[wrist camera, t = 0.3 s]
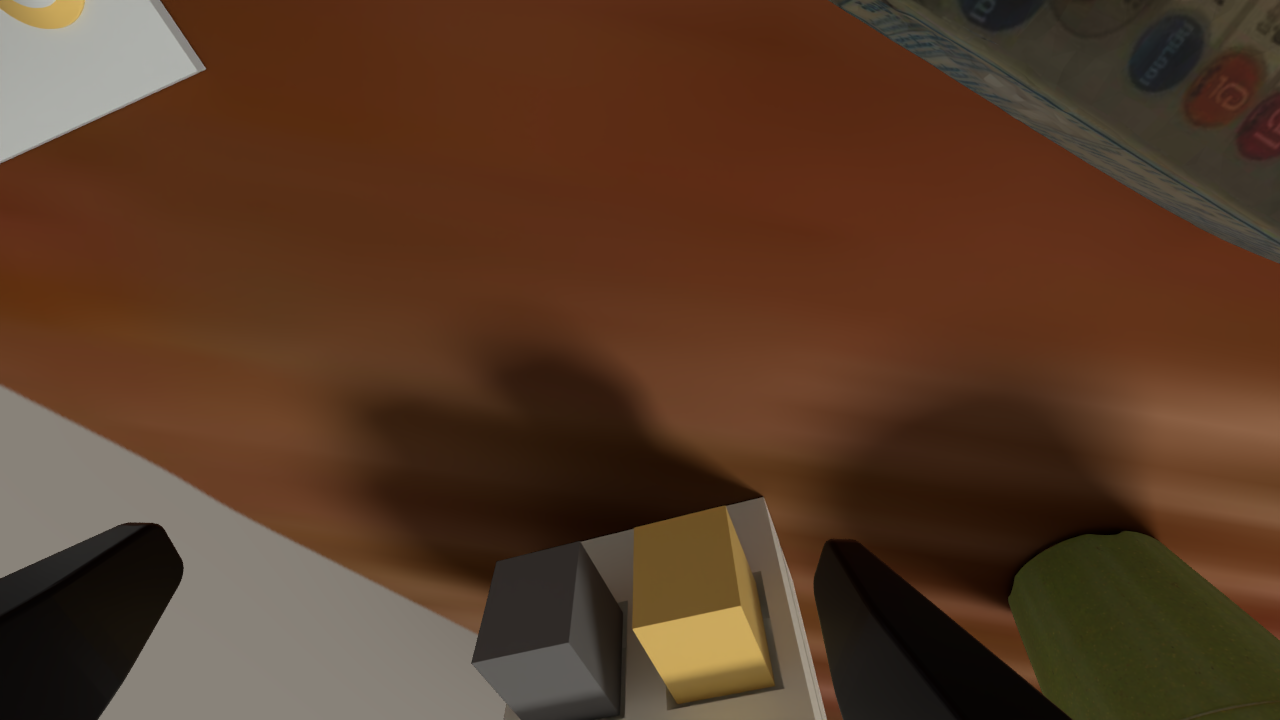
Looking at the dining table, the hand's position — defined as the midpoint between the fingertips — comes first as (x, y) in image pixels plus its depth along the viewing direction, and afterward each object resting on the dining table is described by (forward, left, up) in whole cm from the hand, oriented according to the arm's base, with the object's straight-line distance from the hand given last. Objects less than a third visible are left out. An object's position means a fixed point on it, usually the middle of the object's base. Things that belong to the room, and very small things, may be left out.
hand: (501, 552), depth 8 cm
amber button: (+12, -2, -10) cm, 16 cm away
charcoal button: (+11, -8, -9) cm, 17 cm away
